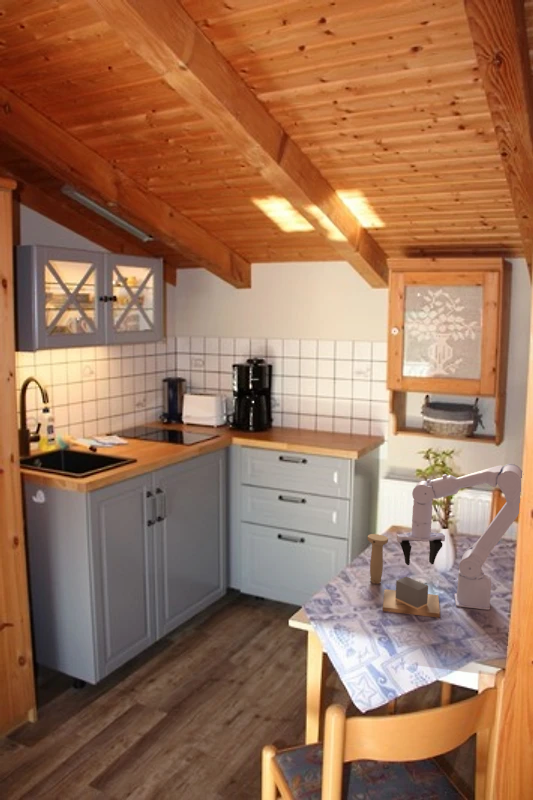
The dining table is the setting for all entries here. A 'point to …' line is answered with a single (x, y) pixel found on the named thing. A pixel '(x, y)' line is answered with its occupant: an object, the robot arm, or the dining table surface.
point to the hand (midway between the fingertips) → (419, 563)
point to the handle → (376, 557)
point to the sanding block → (411, 593)
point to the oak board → (399, 607)
